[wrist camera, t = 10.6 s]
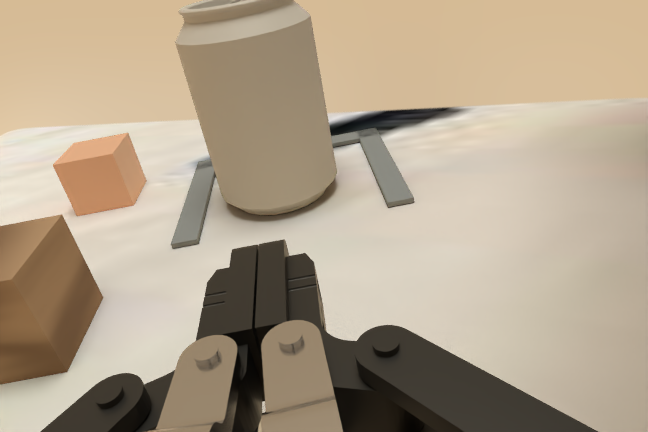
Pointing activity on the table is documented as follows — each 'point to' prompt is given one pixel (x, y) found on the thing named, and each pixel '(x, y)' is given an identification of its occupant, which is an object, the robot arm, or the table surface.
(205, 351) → the robot arm
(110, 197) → the clay block
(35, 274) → the walnut block
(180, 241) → the frame
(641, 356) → the table surface
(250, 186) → the can
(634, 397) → the table surface
